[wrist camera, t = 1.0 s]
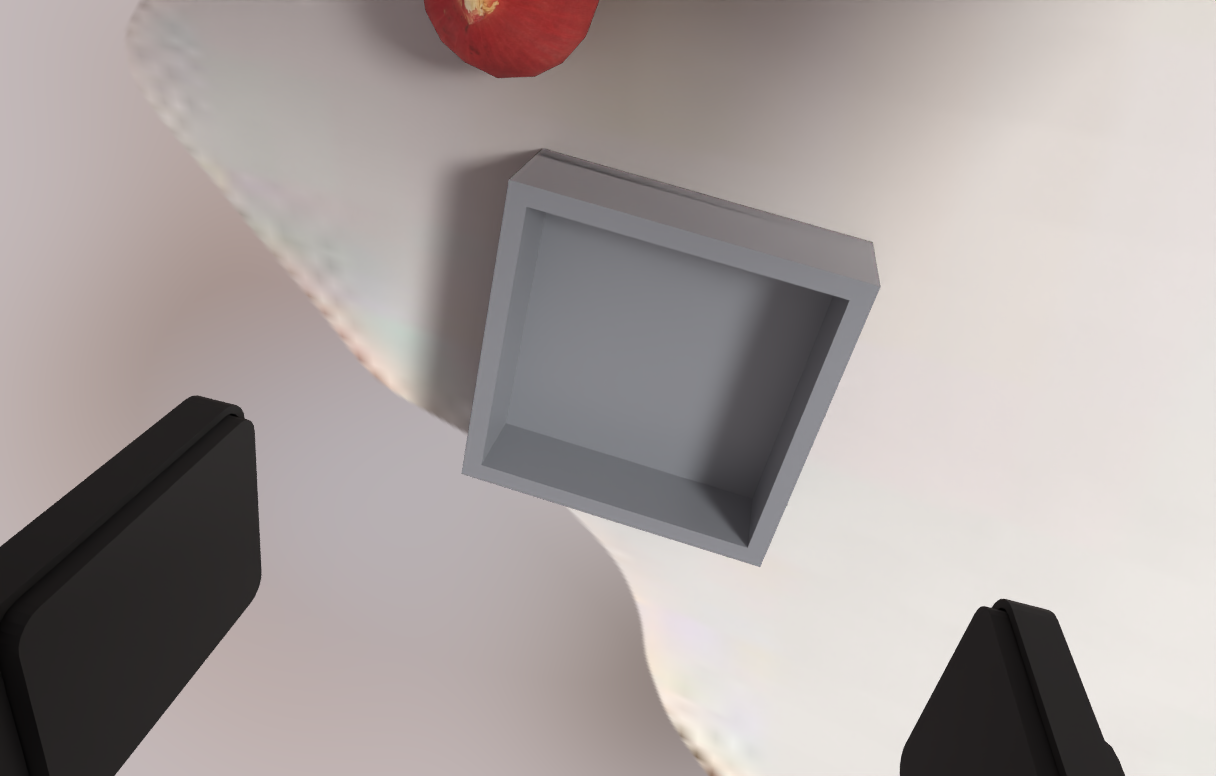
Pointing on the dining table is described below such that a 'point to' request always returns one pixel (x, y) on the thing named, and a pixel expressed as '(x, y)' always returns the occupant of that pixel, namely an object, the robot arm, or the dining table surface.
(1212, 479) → the dining table surface
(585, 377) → the tray
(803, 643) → the dining table surface
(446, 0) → the onion
